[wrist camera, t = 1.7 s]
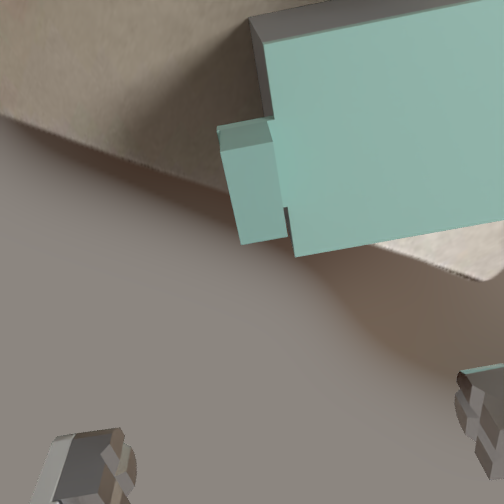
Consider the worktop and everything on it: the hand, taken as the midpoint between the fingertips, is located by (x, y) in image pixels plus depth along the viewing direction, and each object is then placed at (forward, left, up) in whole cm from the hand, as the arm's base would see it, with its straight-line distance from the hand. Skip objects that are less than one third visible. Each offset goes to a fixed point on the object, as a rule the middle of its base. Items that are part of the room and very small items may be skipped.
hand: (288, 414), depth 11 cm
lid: (0, +7, -16) cm, 18 cm away
